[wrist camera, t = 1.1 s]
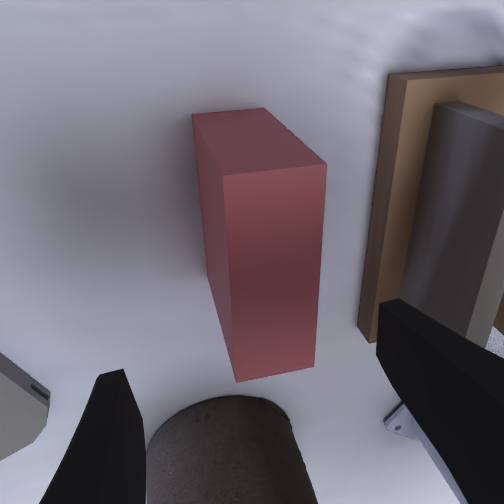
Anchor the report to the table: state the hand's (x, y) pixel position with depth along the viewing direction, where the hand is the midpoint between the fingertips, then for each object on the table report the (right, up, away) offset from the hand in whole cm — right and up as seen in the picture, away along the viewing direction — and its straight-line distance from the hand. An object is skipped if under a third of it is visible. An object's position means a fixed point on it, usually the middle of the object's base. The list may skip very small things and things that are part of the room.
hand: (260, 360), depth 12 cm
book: (-1, +5, +8) cm, 10 cm away
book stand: (+15, +6, +12) cm, 20 cm away
